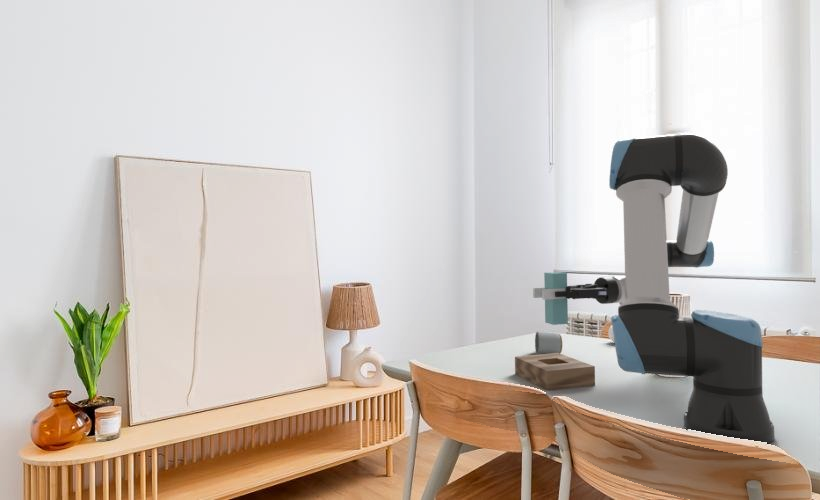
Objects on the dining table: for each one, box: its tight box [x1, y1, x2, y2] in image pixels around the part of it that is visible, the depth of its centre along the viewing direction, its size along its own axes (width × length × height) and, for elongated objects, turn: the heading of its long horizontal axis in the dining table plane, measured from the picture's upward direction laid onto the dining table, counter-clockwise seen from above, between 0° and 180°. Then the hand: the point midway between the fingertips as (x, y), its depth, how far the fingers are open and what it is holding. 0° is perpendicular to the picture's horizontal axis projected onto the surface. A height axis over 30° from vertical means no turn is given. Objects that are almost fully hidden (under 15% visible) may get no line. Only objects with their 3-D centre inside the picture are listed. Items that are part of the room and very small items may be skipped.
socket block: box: [514, 353, 596, 391], centre depth 144 cm, size 18×14×5 cm
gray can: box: [534, 331, 563, 355], centre depth 177 cm, size 11×8×8 cm
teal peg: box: [543, 271, 569, 326], centre depth 144 cm, size 4×4×14 cm
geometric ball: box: [607, 324, 615, 343], centre depth 191 cm, size 8×8×8 cm
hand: (538, 293), depth 143 cm, fingers closed on teal peg, 4 cm apart
